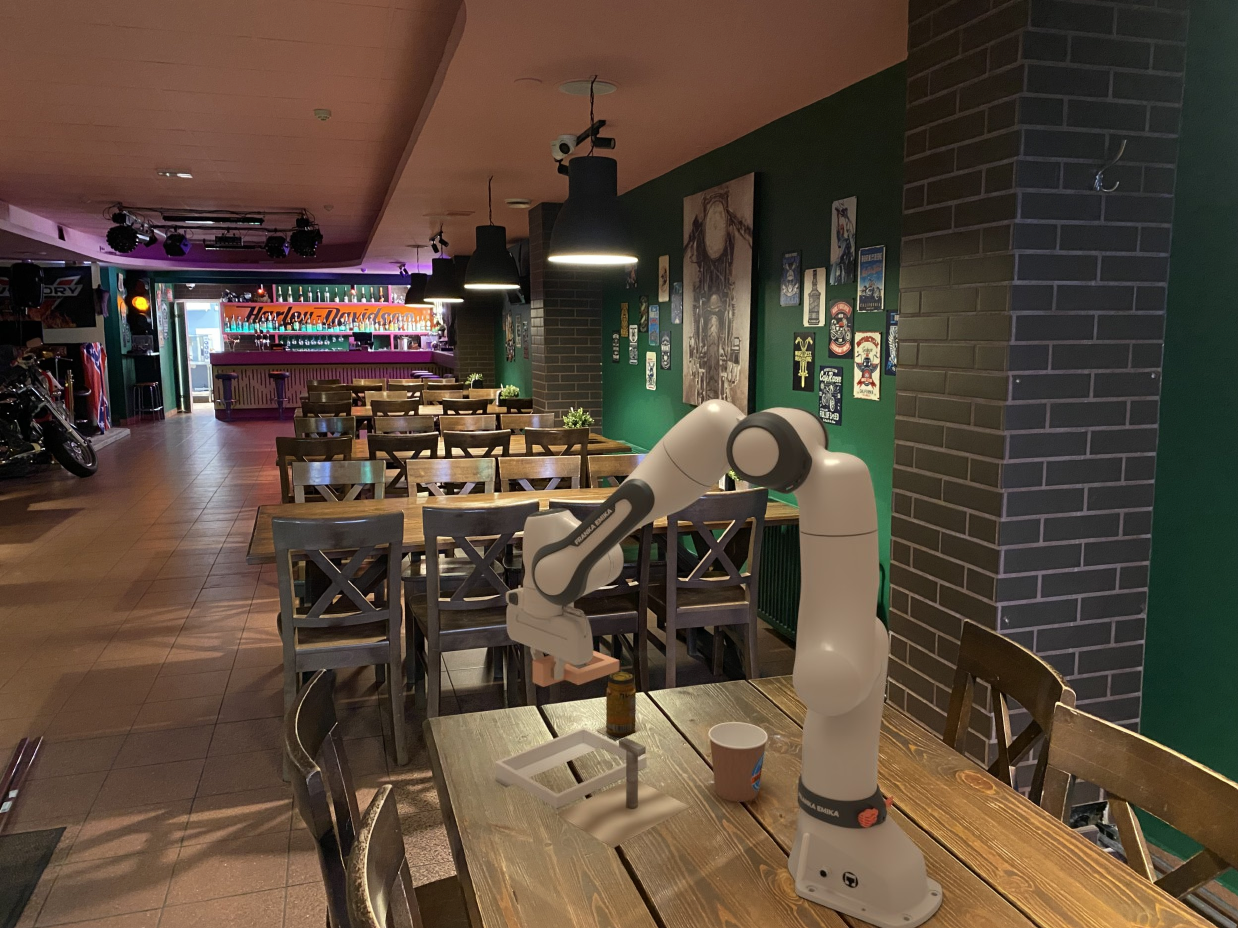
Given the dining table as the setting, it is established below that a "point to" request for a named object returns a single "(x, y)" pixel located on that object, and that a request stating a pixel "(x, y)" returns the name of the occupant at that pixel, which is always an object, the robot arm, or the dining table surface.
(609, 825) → the board
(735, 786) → the coffee cup
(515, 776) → the tray
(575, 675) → the square frame with stem
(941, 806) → the dining table surface
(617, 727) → the condiment
